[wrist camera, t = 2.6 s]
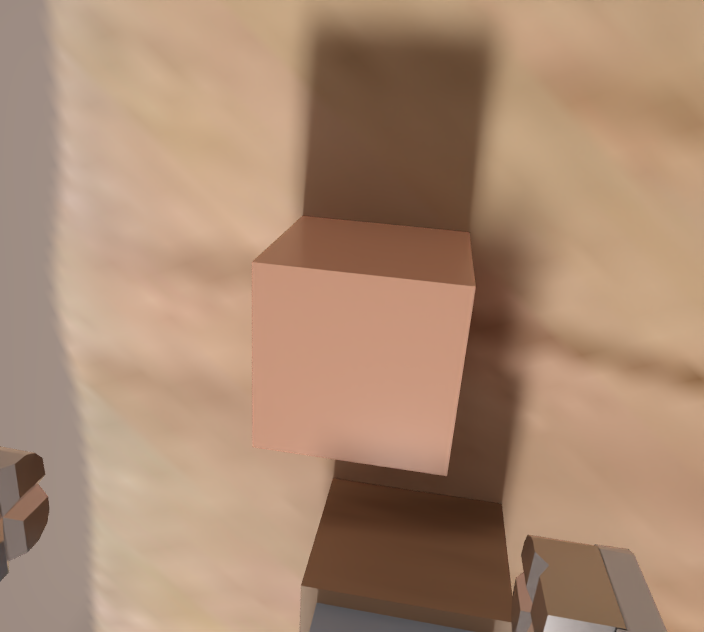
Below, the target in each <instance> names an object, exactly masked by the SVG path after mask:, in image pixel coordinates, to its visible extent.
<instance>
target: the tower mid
mask: <svg viewBox="0 0 704 632" xmlns="http://www.w3.org/2000/svg"><path fill="white" fill-rule="evenodd" d="M309 632H474V631H468V630H463V629H457V628H452V627H446V626H441V625H436V624H430V623H425V622H419V621H414V620H408V619H403V618H398V617H392V616H387V615H381V614H376V613H370V612H365V611H360V610H354V609H349V608H343V607H338V606H332V605H327V604H322V603H316V607H315V611H314V615H313V619H312V623H311V627H310V631H309Z"/></svg>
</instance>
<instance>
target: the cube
mask: <svg viewBox="0 0 704 632" xmlns="http://www.w3.org/2000/svg"><path fill="white" fill-rule="evenodd" d="M475 288H476V284H475V276H474V267H473V259H472V250H471V242H470V233H469V232H462V231H452V230H442V229H432V228H422V227H412V226H402V225H392V224H382V223H371V222H361V221H351V220H341V219H331V218H321V217H311V216H302V217H301V218H300V219H299V220H297V221H296V222H295V223H294V224H293V225H292V226H291V227H290V228H289V229H288V230H287V231H285V232H284V233H283V234H282V235H281V236H280V237H279V238H278V239H277V240H276V241H274V242H273V243H272V244H271V245H270V246H269V247H268V248H267V249H266V250H265V251H264V252H262V253H261V254H260V255H259V256H258V257H257V258H256V259H255V260H254V261H253V262H252V441H253V447H255V448H262V449H269V450H275V451H282V452H289V453H295V454H302V455H309V456H316V457H322V458H329V459H336V460H342V461H349V462H356V463H362V464H369V465H376V466H383V467H389V468H396V469H403V470H409V471H416V472H423V473H430V474H436V475H443V476H447V472H448V465H449V459H450V452H451V446H452V439H453V433H454V426H455V420H456V413H457V406H458V400H459V393H460V387H461V380H462V374H463V367H464V361H465V354H466V347H467V341H468V334H469V328H470V321H471V315H472V308H473V301H474V295H475Z"/></svg>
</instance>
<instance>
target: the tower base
mask: <svg viewBox="0 0 704 632" xmlns="http://www.w3.org/2000/svg"><path fill="white" fill-rule="evenodd" d="M316 603H322V604H327V605H332V606H338V607H343V608H349V609H354V610H360V611H365V612H370V613H376V614H381V615H387V616H392V617H398V618H403V619H408V620H414V621H419V622H425V623H430V624H436V625H441V626H446V627H452V628H457V629H463V630H468V631H474V632H512V625H511V609H512V590H511V581H510V572H509V564H508V555H507V547H506V538H505V529H504V521H503V512H502V504H499V503H493V502H486V501H480V500H473V499H466V498H460V497H453V496H447V495H440V494H433V493H427V492H420V491H414V490H407V489H400V488H394V487H387V486H381V485H374V484H367V483H361V482H354V481H348V480H341V479H335V478H333V480H332V484H331V487H330V490H329V494H328V497H327V500H326V504H325V507H324V511H323V514H322V517H321V521H320V524H319V527H318V531H317V534H316V537H315V541H314V544H313V547H312V551H311V554H310V557H309V561H308V564H307V568H306V571H305V574H304V578H303V581H302V584H301V603H300V632H309V631H310V627H311V623H312V619H313V615H314V611H315V607H316Z"/></svg>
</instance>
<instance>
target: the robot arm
mask: <svg viewBox="0 0 704 632" xmlns="http://www.w3.org/2000/svg"><path fill="white" fill-rule="evenodd" d="M44 475H45V470H44V464H43V459H42V457H40V456H39V455H37V454H36V453H33V452H28V451H22V450H17V449H12V448H7V447H1V446H0V581H1V580H2V579H3V578H4V577H5V576H6V575H7V574H8V572H9V561H10V560H12V559H15V558H17V557H19V556H21V555H23V554H25V553H27V552H28V551H29V550H30V549H31V548H32V547H33V546H34V545H35V544H36V542H37V541H38V540H39V539H40V536H41V534H42V532H43V530H44V528H45V526H46V524H47V521H48V514H49V501H48V496H47V495H46V493H45V492H44V491H43V489H42V488H41V487H40V485H39V482H40V481H41V480H42V478H43V477H44ZM521 557H522V563H523V570H524V572H523V573H522V574H520V575H519V576H518V577H516V581H515V586H514V591H513V597H512V609H511V625H512V632H667V630H666V627H665V625H664V623H663V620H662V618H661V616H660V613H659V611H658V609H657V606H656V604H655V602H654V599H653V597H652V595H651V592H650V590H649V588H648V585H647V583H646V581H645V578H644V576H643V574H642V571H641V569H640V567H639V564H638V562H637V560H636V557H635V555H634V554H633V553H632V552H631V551H630V550H629V549H624V548H617V547H610V546H603V545H596V544H595V545H589V544H583V543H577V542H570V541H564V540H558V539H552V538H545V537H539V536H533V535H527V538H526V540H525V542H524V546H523V550H522V554H521Z"/></svg>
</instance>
